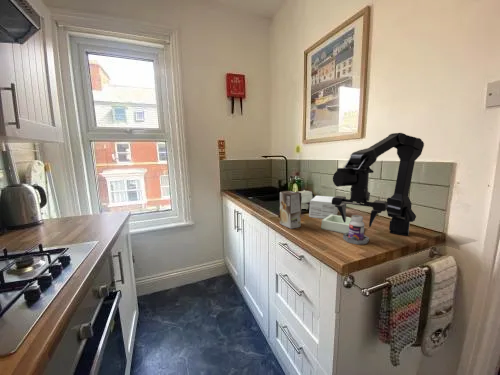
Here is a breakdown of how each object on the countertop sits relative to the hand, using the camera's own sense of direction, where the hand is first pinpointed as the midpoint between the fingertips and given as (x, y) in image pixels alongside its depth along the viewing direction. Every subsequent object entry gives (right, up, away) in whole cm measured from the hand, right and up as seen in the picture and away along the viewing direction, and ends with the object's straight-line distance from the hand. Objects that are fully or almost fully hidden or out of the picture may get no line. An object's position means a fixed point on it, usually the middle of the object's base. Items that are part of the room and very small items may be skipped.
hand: (356, 224), depth 86 cm
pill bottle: (0, -7, +1) cm, 7 cm away
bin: (-1, -4, +15) cm, 16 cm away
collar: (0, -6, +1) cm, 6 cm away
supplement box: (0, -1, +37) cm, 37 cm away
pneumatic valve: (-9, +1, +49) cm, 50 cm away
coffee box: (-23, -4, +20) cm, 30 cm away
